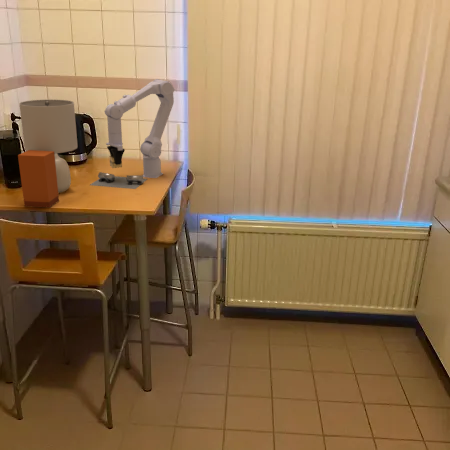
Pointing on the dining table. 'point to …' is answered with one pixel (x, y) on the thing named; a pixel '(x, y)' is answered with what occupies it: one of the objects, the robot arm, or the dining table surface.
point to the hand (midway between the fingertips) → (116, 163)
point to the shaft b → (134, 179)
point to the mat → (118, 183)
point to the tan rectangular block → (112, 162)
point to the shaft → (106, 177)
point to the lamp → (50, 132)
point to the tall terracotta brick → (38, 178)
